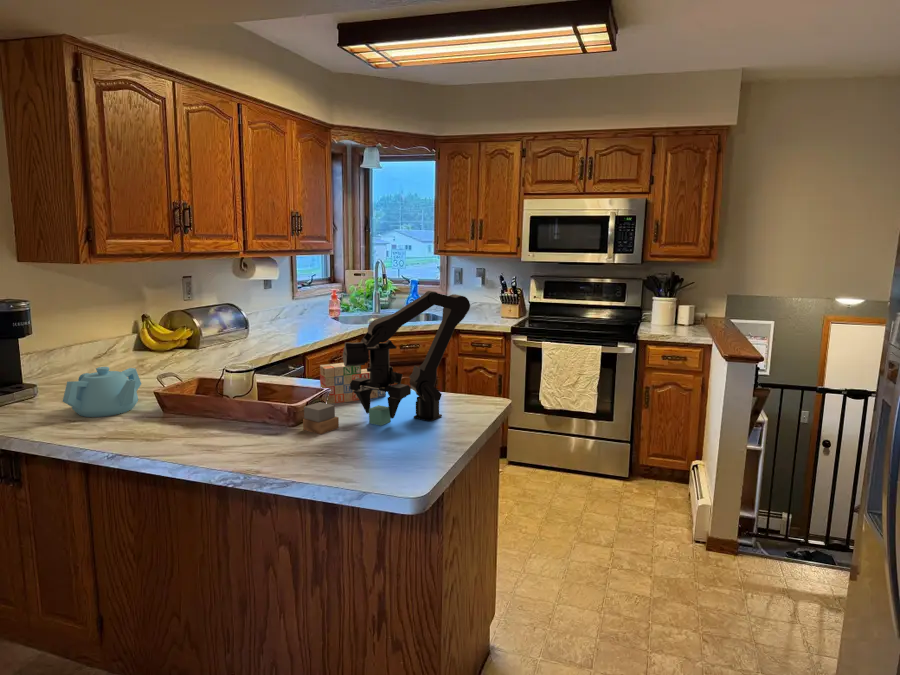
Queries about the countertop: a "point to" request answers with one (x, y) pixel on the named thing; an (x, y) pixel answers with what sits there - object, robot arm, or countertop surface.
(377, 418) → the teal block
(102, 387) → the teapot
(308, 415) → the charcoal block
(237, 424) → the countertop surface
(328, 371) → the stack of blocks
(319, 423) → the walnut base block
